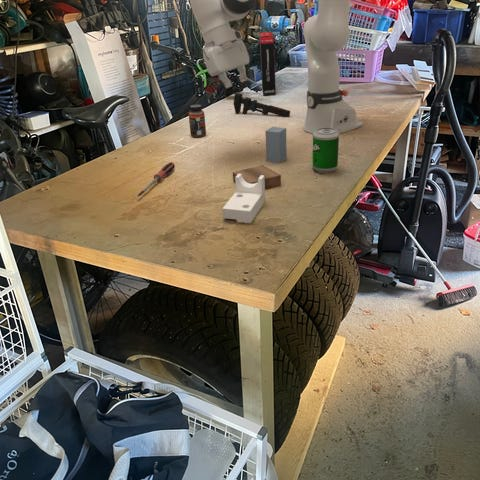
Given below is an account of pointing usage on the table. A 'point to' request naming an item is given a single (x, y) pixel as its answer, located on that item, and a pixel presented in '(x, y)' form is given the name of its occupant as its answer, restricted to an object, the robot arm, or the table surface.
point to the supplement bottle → (197, 121)
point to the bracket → (245, 200)
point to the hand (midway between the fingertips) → (237, 84)
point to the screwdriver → (160, 175)
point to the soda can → (325, 150)
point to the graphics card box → (267, 63)
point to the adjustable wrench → (257, 106)
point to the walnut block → (255, 172)
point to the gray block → (276, 145)
